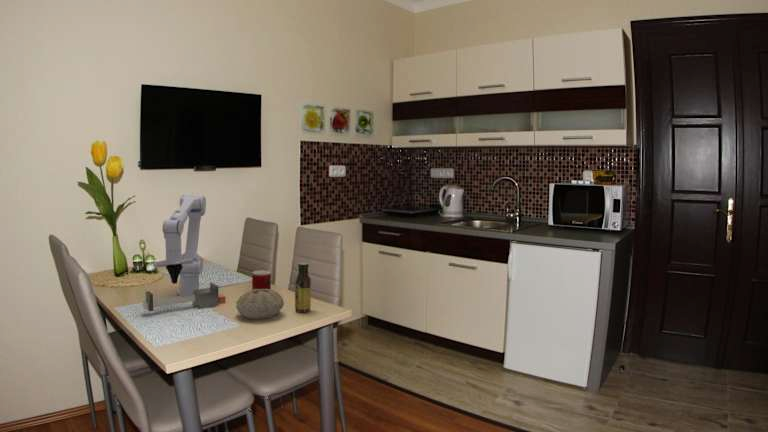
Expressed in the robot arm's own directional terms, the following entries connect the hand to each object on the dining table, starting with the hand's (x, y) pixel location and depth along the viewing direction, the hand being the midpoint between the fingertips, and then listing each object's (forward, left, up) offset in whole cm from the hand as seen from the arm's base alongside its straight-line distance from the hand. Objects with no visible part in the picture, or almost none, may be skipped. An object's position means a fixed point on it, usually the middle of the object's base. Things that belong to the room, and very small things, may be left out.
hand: (174, 283), depth 193 cm
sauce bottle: (+33, +39, -10) cm, 52 cm away
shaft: (+3, -1, -8) cm, 9 cm away
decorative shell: (+28, +23, -10) cm, 38 cm away
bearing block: (+3, +11, -10) cm, 15 cm away
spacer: (+3, +16, -9) cm, 19 cm away
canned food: (+5, +35, -10) cm, 37 cm away
